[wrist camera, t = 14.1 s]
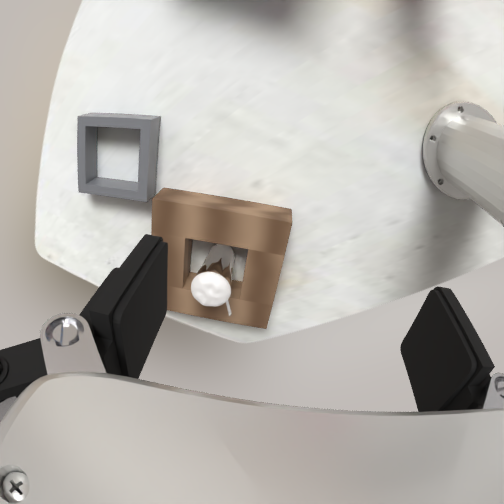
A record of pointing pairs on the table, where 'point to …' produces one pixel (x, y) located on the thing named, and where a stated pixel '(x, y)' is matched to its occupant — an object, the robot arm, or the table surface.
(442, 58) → the table surface
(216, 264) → the milkshake
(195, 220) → the socket block
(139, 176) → the grey square frame
